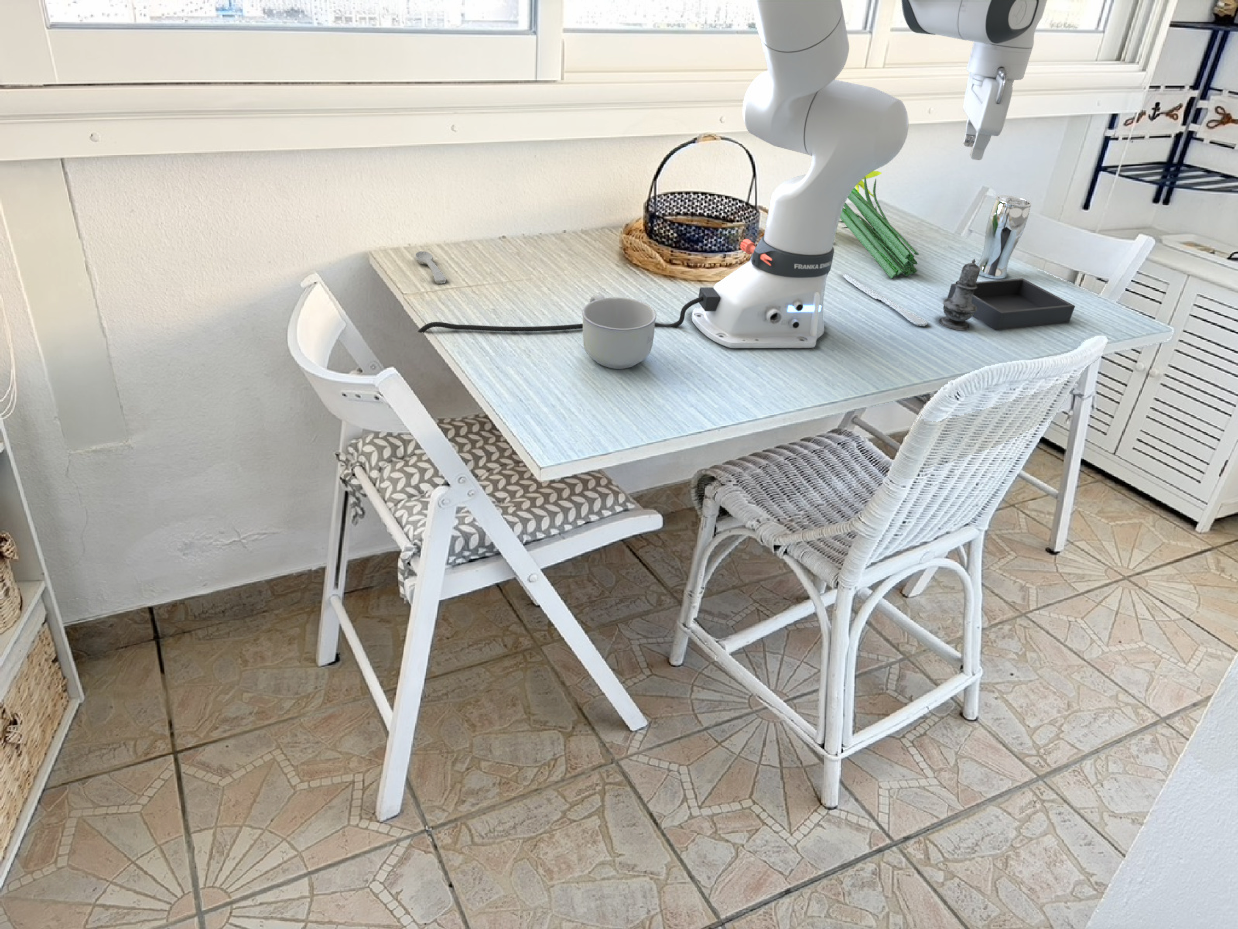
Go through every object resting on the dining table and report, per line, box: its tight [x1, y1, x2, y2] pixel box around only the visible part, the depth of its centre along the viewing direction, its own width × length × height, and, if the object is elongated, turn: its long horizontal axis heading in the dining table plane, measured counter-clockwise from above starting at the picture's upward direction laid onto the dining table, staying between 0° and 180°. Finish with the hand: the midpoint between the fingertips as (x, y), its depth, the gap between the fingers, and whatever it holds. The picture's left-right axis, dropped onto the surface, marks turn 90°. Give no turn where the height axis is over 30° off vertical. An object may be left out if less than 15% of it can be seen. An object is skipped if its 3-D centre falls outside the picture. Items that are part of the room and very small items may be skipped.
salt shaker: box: [938, 258, 980, 331], centre depth 159 cm, size 6×6×12 cm
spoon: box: [414, 250, 447, 285], centre depth 161 cm, size 3×12×2 cm, turn 27°
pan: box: [946, 277, 1076, 331], centre depth 169 cm, size 17×13×3 cm
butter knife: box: [842, 273, 929, 327], centre depth 169 cm, size 1×24×3 cm
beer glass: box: [976, 195, 1032, 280], centre depth 183 cm, size 7×7×15 cm
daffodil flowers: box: [839, 170, 920, 280], centre depth 189 cm, size 17×15×35 cm
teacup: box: [581, 293, 657, 370], centre depth 137 cm, size 14×11×8 cm
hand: (971, 152), depth 153 cm, fingers open, 8 cm apart
